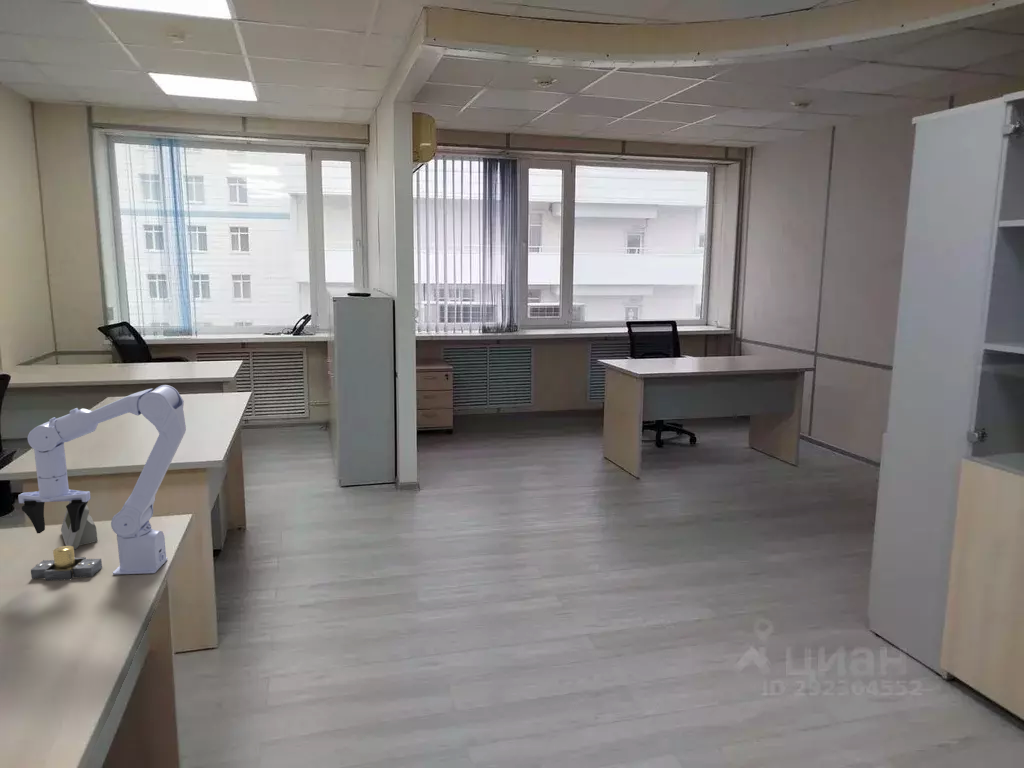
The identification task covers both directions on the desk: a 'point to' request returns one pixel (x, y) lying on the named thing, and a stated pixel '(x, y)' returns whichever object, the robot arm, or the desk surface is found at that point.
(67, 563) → the link pin
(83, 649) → the desk surface
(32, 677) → the desk surface
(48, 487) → the robot arm
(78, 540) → the digital clock
